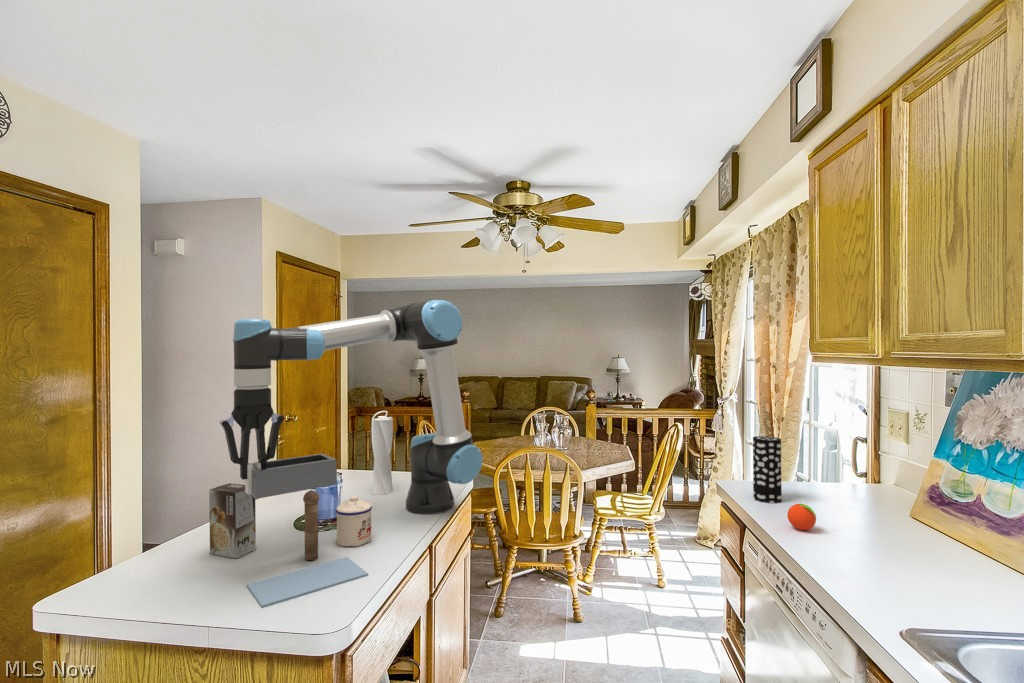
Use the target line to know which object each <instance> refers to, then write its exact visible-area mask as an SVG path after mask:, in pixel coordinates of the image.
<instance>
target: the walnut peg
mask: <svg viewBox="0 0 1024 683" xmlns="http://www.w3.org/2000/svg"><path fill="white" fill-rule="evenodd" d="M302 500H303V504H304V561H305V560H314V561H316V560H318V559H317V558H319V500H320V495H319V493H318V492H317V491H316V490H313V489H310V490H307V492H305V494H304V495H303V498H302ZM315 559H316V560H315Z"/></svg>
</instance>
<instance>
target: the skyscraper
mask: <svg viewBox="0 0 1024 683" xmlns="http://www.w3.org/2000/svg"><path fill="white" fill-rule="evenodd" d="M382 413H385V415H380V416H377V415H378V414H382ZM388 413H389V411H387V410H380V411H377V412H376V413H375V414H374V415H373V416H372V418H371V446H372V452H373V458H374V463H373V476H372V492H371V493H372V495H381V494H386V495H385V496H387V495H388V494H389V493H391V492H392V491H393V477H392V476H393V474H392V465H391V458H390V457H391V451H392V446H393V439H394V438H393V437H394V423H393V422H394V419H393V417H392V416H388ZM376 416H377V418H375V417H376ZM387 416H388V417H387ZM390 491H391V492H390Z"/></svg>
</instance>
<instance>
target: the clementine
mask: <svg viewBox="0 0 1024 683" xmlns="http://www.w3.org/2000/svg"><path fill="white" fill-rule="evenodd" d="M786 515H787V519H788V520H787V521H788V522H789V524H791V526H792V527H794V528H795V529H797V530H800V531H809V530H810V529H812V528H813V527H814V526H815V524H816V522H817V516H816V513H815V511H814V510H813V509H812V507H810V506H809V505H808V504H804V503H794V504H793V505H791V506H790V507H789V509H788V510H787V514H786Z"/></svg>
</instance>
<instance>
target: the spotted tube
mask: <svg viewBox="0 0 1024 683" xmlns="http://www.w3.org/2000/svg"><path fill="white" fill-rule="evenodd" d="M752 455H753V456H752V458H753V459H752V474H753V475H752V478H753V479H752V482H753V484H752V485H753V493H752V494H753V500H754V501H757V502H760V503H766V504H778V503H779V504H780V503H781V502H782V499H783V498H782V495H783V494H782V493H783V492H782V438H780V437H776V436H775V437H774V436H769V435H768V436H765V435H763V436H762V435H757V436H752Z"/></svg>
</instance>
